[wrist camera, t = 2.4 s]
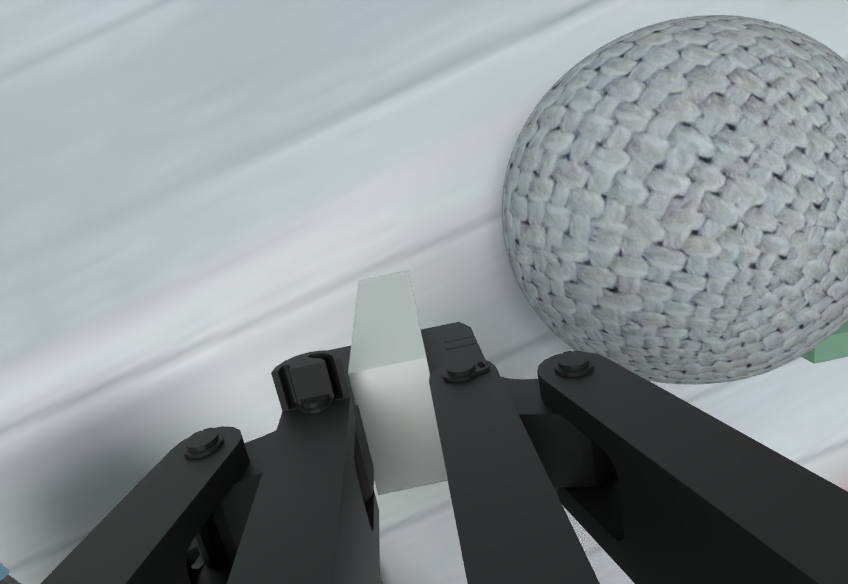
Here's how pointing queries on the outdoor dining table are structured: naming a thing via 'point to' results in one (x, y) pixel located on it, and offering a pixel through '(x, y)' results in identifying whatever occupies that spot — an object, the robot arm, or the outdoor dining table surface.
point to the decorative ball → (687, 200)
